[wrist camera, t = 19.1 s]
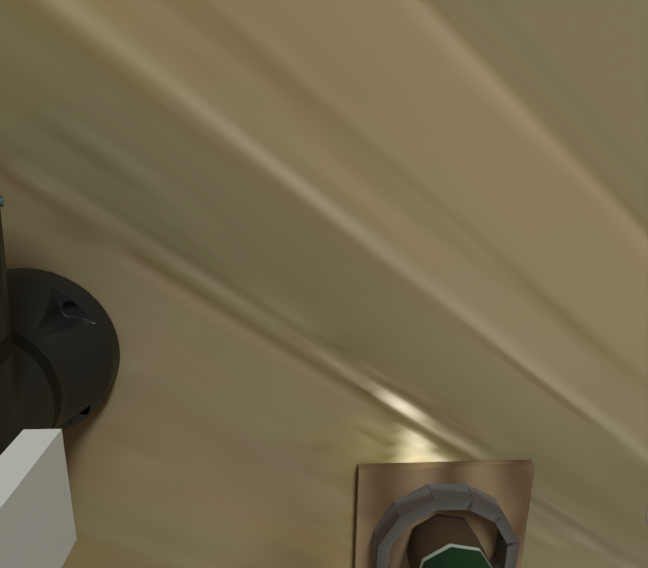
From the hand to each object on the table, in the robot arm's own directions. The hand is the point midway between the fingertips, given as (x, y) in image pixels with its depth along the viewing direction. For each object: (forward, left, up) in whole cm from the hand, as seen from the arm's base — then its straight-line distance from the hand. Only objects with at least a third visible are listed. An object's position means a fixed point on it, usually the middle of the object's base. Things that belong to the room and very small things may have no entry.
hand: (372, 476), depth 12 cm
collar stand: (+14, -34, -37) cm, 52 cm away
